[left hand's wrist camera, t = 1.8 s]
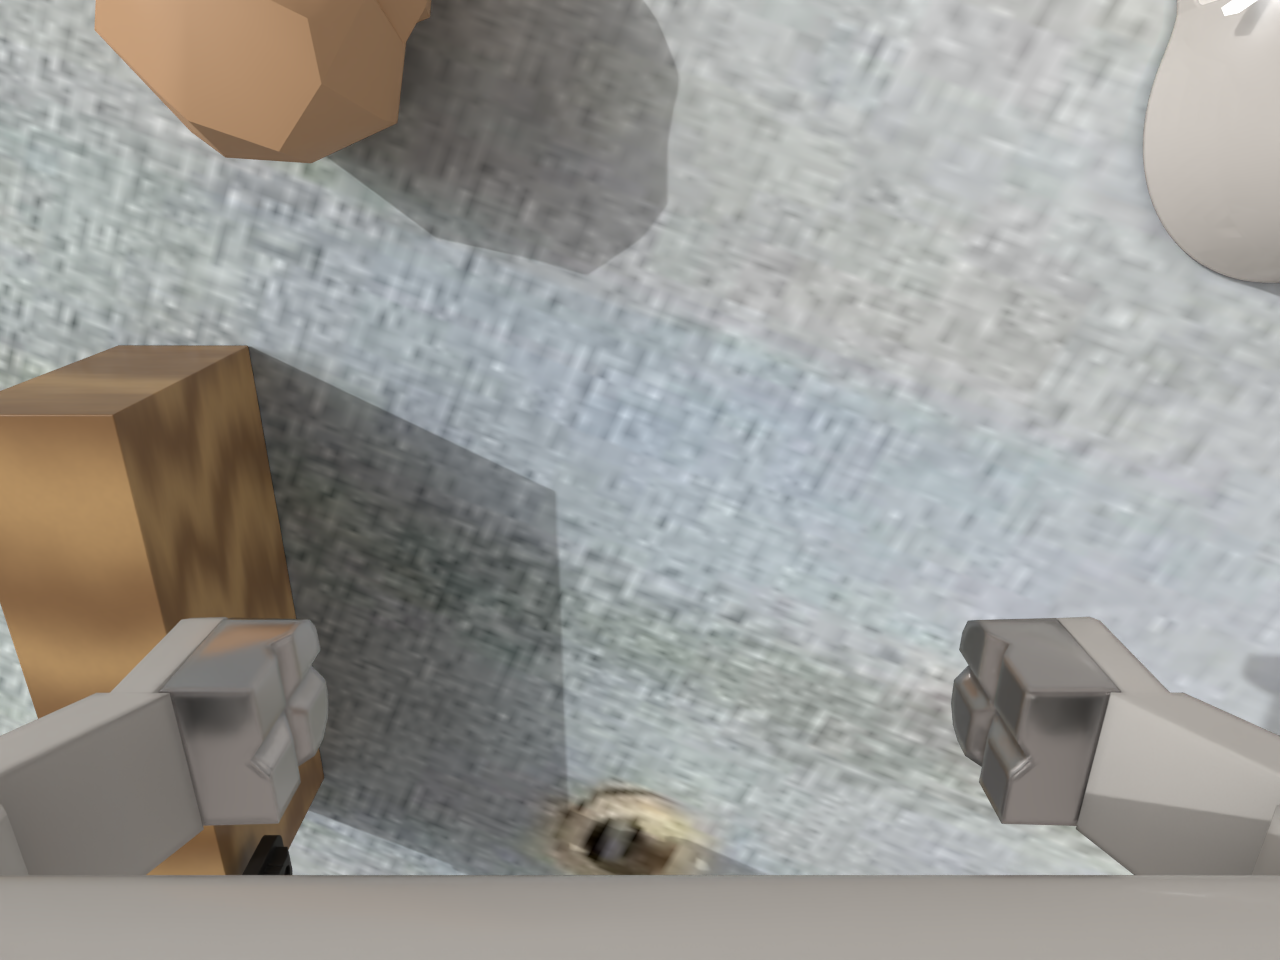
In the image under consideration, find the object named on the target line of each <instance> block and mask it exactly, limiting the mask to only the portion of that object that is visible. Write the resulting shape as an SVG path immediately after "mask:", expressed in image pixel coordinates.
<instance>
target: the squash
mask: <svg viewBox="0 0 1280 960" xmlns="http://www.w3.org/2000/svg"><path fill="white" fill-rule="evenodd" d="M430 10H431V0H96V9H95V31H96V32H97V33H98V34H99V35H100V36H101V37H102V38H103V39H104V40H105V41H106V42H107V44H108V45H109V46H110V47H111V48H112V49H113V50H114V51H115V52H116V53H117V54H118V55H119V56H120V57H121V58H122V59H123V60H124V61H125V63H126V64H127V65H128V66H129V67H130V68H131V69H132V70H133V71H134V72H135V73H136V74H137V75H138V76H139V77H140V78H141V79H142V80H143V82H144V83H145V84H146V85H147V86H148V87H149V88H150V89H151V90H152V91H153V92H154V93H155V94H156V95H157V96H158V97H159V98H160V99H161V101H162V102H163V103H164V104H165V105H166V106H167V107H168V108H169V109H170V110H171V111H172V112H173V113H174V114H175V115H176V116H177V117H178V118H179V119H180V121H181V122H182V123H183V124H184V125H185V126H186V127H187V128H188V129H189V130H190V131H191V132H192V133H193V134H195V135H196V136H197V137H199V138H200V139H201V140H203V141H204V142H206V143H207V144H208V145H210V146H211V147H212V148H214V149H215V150H216V151H218V152H219V153H220V154H222V155H223V156H224V157H227V158H242V159H257V160H271V161H286V162H301V163H313V162H315V161H317V160H319V159H321V158H323V157H326V156H328V155H330V154H332V153H334V152H336V151H338V150H341V149H343V148H345V147H347V146H349V145H351V144H353V143H356V142H358V141H360V140H362V139H364V138H366V137H369V136H371V135H373V134H375V133H377V132H379V131H381V130H384V129H386V128H388V127H390V126H392V125H394V124H396V123H397V121H398V112H399V103H400V94H401V85H402V76H403V67H404V57H405V48H406V41H407V39H408V38H409V36H410V34H411V32H412V30H413V29H414V27H415V25H416V23H418V22H420V21H423V20H425V19H427V18H430Z"/></svg>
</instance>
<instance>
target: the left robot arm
mask: <svg viewBox="0 0 1280 960" xmlns="http://www.w3.org/2000/svg"><path fill="white" fill-rule="evenodd" d="M1143 162H1144V172H1145V178H1146V183H1147V187H1148V191H1149V195H1150V198H1151V201H1152V204H1153V206H1154V208H1155V211H1156V213H1157V215H1158V217H1159V219H1160V221H1161V223H1162V224H1163V226H1164V228H1165V229H1166V231H1167V232H1168V234H1169V235H1170V236H1171V237H1172V239H1173V240H1174V241H1175V242H1176V243H1177V244H1178V246H1179V247H1180V248H1181V249H1182V250H1183V251H1185V252H1186V253H1187V254H1188V255H1189V256H1190V257H1192V258H1193V259H1194V260H1196V261H1197V262H1199V263H1200V264H1202V265H1204V266H1205V267H1207V268H1209V269H1211V270H1213V271H1215V272H1217V273H1220V274H1223V275H1225V276H1228V277H1232V278H1235V279H1239V280H1244V281H1250V282H1261V283H1280V0H1177V16H1176V20H1175V24H1174V28H1173V31H1172V34H1171V37H1170V40H1169V43H1168V45H1167V48H1166V50H1165V53H1164V55H1163V58H1162V60H1161V63H1160V65H1159V68H1158V71H1157V73H1156V76H1155V79H1154V82H1153V85H1152V89H1151V93H1150V96H1149V100H1148V105H1147V110H1146V115H1145V123H1144V131H1143ZM320 650H321V648H320V644H319V639H318V634H317V629H316V626H315V625H314V624H313V623H312V622H311V621H310V620H309V619H275V618H227V617H200V618H188V619H182V620H181V621H180V622H179V623H178V624H177V625H176V626H175V627H174V628H173V629H172V630H171V631H170V632H169V633H168V634H167V635H166V636H165V637H164V638H163V639H162V640H161V641H160V642H159V643H158V644H157V645H156V646H155V647H154V648H153V649H152V650H151V651H150V652H149V653H148V654H147V655H146V656H145V657H144V658H143V659H142V660H141V661H140V662H139V663H138V664H137V665H136V667H135V668H134V669H133V670H132V671H131V672H130V673H129V674H128V675H127V676H126V677H125V678H124V679H123V680H122V681H121V682H120V683H119V684H118V685H117V686H116V687H115V688H114V689H113V690H112V691H111V692H110V693H95V694H93V695H90V696H88V697H86V698H84V699H81V700H79V701H77V702H75V703H73V704H70V705H68V706H66V707H64V708H61V709H59V710H57V711H55V712H52V713H50V714H48V715H46V716H44V717H41V718H39V719H37V720H35V721H32V722H30V723H28V724H26V725H23V726H21V727H19V728H17V729H15V730H12V731H10V732H8V733H6V734H3V735H1V736H0V960H1280V736H1279V735H1276V734H1274V733H1272V732H1270V731H1267V730H1265V729H1263V728H1261V727H1259V726H1256V725H1254V724H1252V723H1250V722H1247V721H1245V720H1243V719H1241V718H1239V717H1236V716H1234V715H1232V714H1230V713H1227V712H1225V711H1223V710H1221V709H1219V708H1216V707H1214V706H1212V705H1210V704H1207V703H1205V702H1203V701H1201V700H1198V699H1196V698H1194V697H1192V696H1190V695H1187V694H1185V693H1170V692H1169V691H1168V690H1167V689H1166V688H1165V687H1164V686H1163V685H1162V684H1161V683H1160V682H1159V681H1158V680H1157V679H1156V678H1155V677H1154V676H1153V675H1152V674H1151V673H1150V672H1149V670H1148V669H1147V668H1146V667H1145V666H1144V665H1143V664H1142V663H1141V662H1140V661H1139V660H1138V659H1137V658H1136V657H1135V656H1134V655H1133V654H1132V653H1131V652H1130V651H1129V650H1128V649H1127V648H1126V647H1125V646H1124V645H1123V644H1122V643H1121V642H1120V641H1119V640H1118V639H1117V638H1116V637H1115V636H1114V635H1113V634H1112V633H1111V632H1110V631H1109V629H1108V628H1107V627H1106V626H1105V625H1104V624H1103V623H1102V622H1101V621H1099V620H1097V619H1094V618H1091V617H1070V618H1041V619H1000V620H971V621H968V622H967V624H966V626H965V628H964V630H963V632H962V637H961V643H960V648H959V650H960V652H961V653H962V655H963V657H964V658H965V660H966V662H967V663H968V666H967V667H966V668H965V669H964V671H963V672H962V673H961V674H960V675H959V676H958V677H957V678H956V679H955V680H954V685H953V692H952V700H951V708H952V720H953V727H954V730H955V734H956V737H957V740H958V743H959V745H960V747H961V749H962V751H963V753H964V755H965V756H966V757H968V758H969V759H971V760H972V761H974V762H975V763H977V764H978V765H980V766H981V767H982V769H981V774H980V780H979V783H980V785H981V787H982V788H983V790H984V792H985V794H986V796H987V798H988V799H989V801H990V803H991V805H992V807H993V809H994V810H995V812H996V814H997V816H998V818H999V820H1000V822H1001V823H1002V824H1033V825H1069V826H1077V827H1076V829H1077V830H1078V831H1079V832H1080V833H1082V834H1083V835H1084V836H1085V837H1087V838H1088V839H1089V840H1091V841H1092V842H1093V843H1094V844H1096V845H1097V846H1098V847H1099V848H1101V849H1102V850H1103V851H1105V852H1106V853H1107V854H1108V855H1110V856H1111V857H1112V858H1113V859H1115V860H1116V861H1117V862H1118V863H1120V864H1121V865H1122V866H1124V867H1125V868H1126V869H1127V870H1129V871H1130V872H1131V873H1132V874H1134V875H147V874H148V873H149V872H150V871H152V870H153V869H154V868H155V867H157V866H158V865H159V864H161V863H162V862H163V861H164V860H166V859H167V858H168V857H169V856H171V855H172V854H173V853H175V852H176V851H177V850H178V849H180V848H181V847H182V846H183V845H185V844H186V843H187V842H188V841H190V840H191V839H192V838H194V837H195V836H196V835H197V834H199V833H200V832H201V831H202V830H204V827H203V826H210V825H246V824H279V822H280V820H281V818H282V816H283V814H284V812H285V811H286V809H287V807H288V805H289V803H290V801H291V799H292V798H293V796H294V794H295V792H296V790H297V788H298V787H299V785H300V783H301V780H300V774H299V769H298V767H299V766H300V765H302V764H303V763H305V762H306V761H308V760H309V759H311V758H312V757H314V756H315V754H316V752H317V750H318V748H319V746H320V744H321V742H322V740H323V738H324V734H325V729H326V725H327V720H328V698H329V697H328V690H327V684H326V680H325V679H324V678H323V677H322V676H321V675H320V674H319V673H318V672H317V671H316V669H315V668H314V667H313V666H312V663H313V662H314V660H315V658H316V657H317V655H318V653H319V652H320Z"/></svg>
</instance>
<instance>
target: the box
mask: <svg viewBox="0 0 1280 960" xmlns="http://www.w3.org/2000/svg"><path fill="white" fill-rule="evenodd" d="M0 603H1V606H2V610H3V613H4V616H5V619H6V622H7V625H8V628H9V631H10V634H11V637H12V640H13V643H14V646H15V649H16V652H17V655H18V658H19V662H20V665H21V668H22V671H23V674H24V677H25V680H26V683H27V686H28V689H29V692H30V695H31V698H32V701H33V704H34V707H35V710H36V714H37V717H38V719H39V718H41V717H44V716H46V715H48V714H50V713H52V712H55V711H57V710H59V709H61V708H64V707H66V706H68V705H70V704H73V703H75V702H77V701H79V700H81V699H84V698H86V697H88V696H90V695H93V694H95V693H110V692H111V691H112V690H113V689H114V688H115V687H116V686H117V685H118V684H119V683H120V682H121V681H122V680H123V679H124V678H125V677H126V676H127V675H128V674H129V673H130V672H131V671H132V670H133V669H134V668H135V667H136V665H137V664H138V663H139V662H140V661H141V660H142V659H143V658H144V657H145V656H146V655H147V654H148V653H149V652H150V651H151V650H152V649H153V648H154V647H155V646H156V645H157V644H158V643H159V642H160V641H161V640H162V639H163V638H164V637H165V636H166V635H167V634H168V633H169V632H170V631H171V630H172V629H173V628H174V627H175V626H176V625H177V624H178V623H179V622H180V621H181V620H182V619H188V618H200V617H227V618H275V619H296V615H295V610H294V604H293V598H292V593H291V587H290V581H289V576H288V570H287V564H286V559H285V553H284V547H283V542H282V536H281V530H280V525H279V519H278V513H277V508H276V502H275V496H274V491H273V485H272V479H271V474H270V468H269V462H268V457H267V451H266V445H265V440H264V434H263V428H262V423H261V417H260V411H259V406H258V400H257V394H256V389H255V383H254V377H253V372H252V366H251V360H250V354H249V349H248V346H140V345H119V346H116V347H113V348H111V349H108V350H106V351H103V352H100V353H98V354H95V355H93V356H90V357H87V358H85V359H82V360H80V361H77V362H75V363H72V364H69V365H67V366H64V367H62V368H59V369H56V370H54V371H51V372H49V373H46V374H43V375H41V376H38V377H36V378H33V379H30V380H28V381H25V382H23V383H20V384H17V385H15V386H12V387H10V388H7V389H4V390H2V391H0ZM298 769H299V774H300V780H301V783H300V785H299V787H298V788H297V790H296V792H295V794H294V796H293V798H292V799H291V801H290V803H289V805H288V807H287V809H286V811H285V812H284V814H283V816H282V818H281V820H280V822H279V824H246V825H210V826H203V827H204V830H202V831H201V832H200V833H199V834H197V835H196V836H195V837H194V838H192V839H191V840H190V841H188V842H187V843H186V844H185V845H183V846H182V847H181V848H180V849H178V850H177V851H176V852H175V853H173V854H172V855H171V856H169V857H168V858H167V859H166V860H164V861H163V862H162V863H161V864H159V865H158V866H157V867H155V868H154V869H153V870H152V871H150V872H149V873H148V874H147V875H242V874H243V872H244V870H245V868H246V866H247V865H248V863H249V861H250V859H251V857H252V855H253V853H254V851H255V850H256V848H257V846H258V844H259V842H260V840H261V838H262V837H263V836H264V835H281V836H282V840H283V845H284V847H288V849H289V847H290V845H291V843H292V841H293V839H294V837H295V835H296V833H297V831H298V829H299V827H300V825H301V823H302V821H303V819H304V817H305V815H306V813H307V811H308V809H309V807H310V805H311V803H312V801H313V799H314V797H315V795H316V793H317V791H318V789H319V787H320V785H321V783H322V781H323V779H324V774H323V769H322V763H321V757H320V752H319V748H318V750H317V752H316V754H315V756H314V757H312V758H311V759H309V760H308V761H306V762H305V763H303V764H302V765H300V766H299V767H298Z"/></svg>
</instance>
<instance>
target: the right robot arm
mask: <svg viewBox="0 0 1280 960" xmlns="http://www.w3.org/2000/svg"><path fill="white" fill-rule="evenodd" d="M242 875H292V866H291V861H290V856H289V851H288V847H284V845H283V840H282V836H281V835H264V836H263V837H262V838H261V840H260V842H259V844H258V846H257V848H256V850H255V851H254V853H253V855H252V857H251V859H250V861H249V863H248V865H247V866H246V868H245V870H244V872H243V874H242Z"/></svg>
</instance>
